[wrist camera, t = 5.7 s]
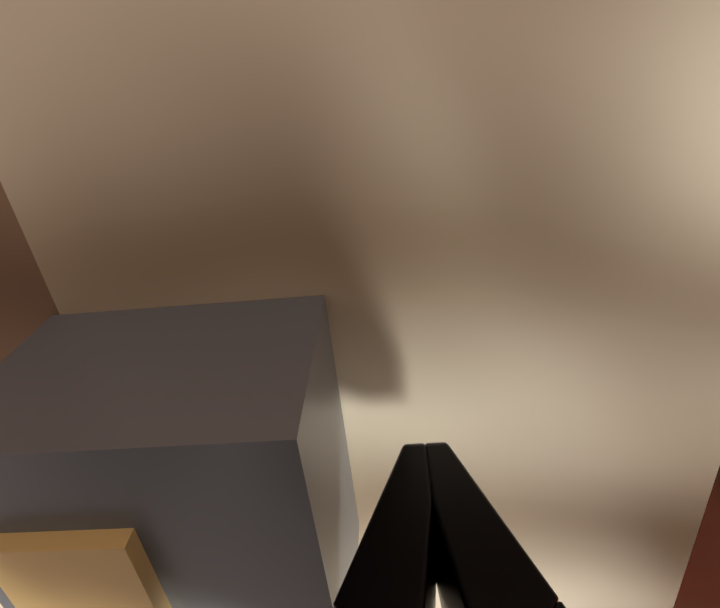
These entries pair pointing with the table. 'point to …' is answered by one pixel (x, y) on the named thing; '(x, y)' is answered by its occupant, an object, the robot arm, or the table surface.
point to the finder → (176, 460)
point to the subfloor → (411, 231)
